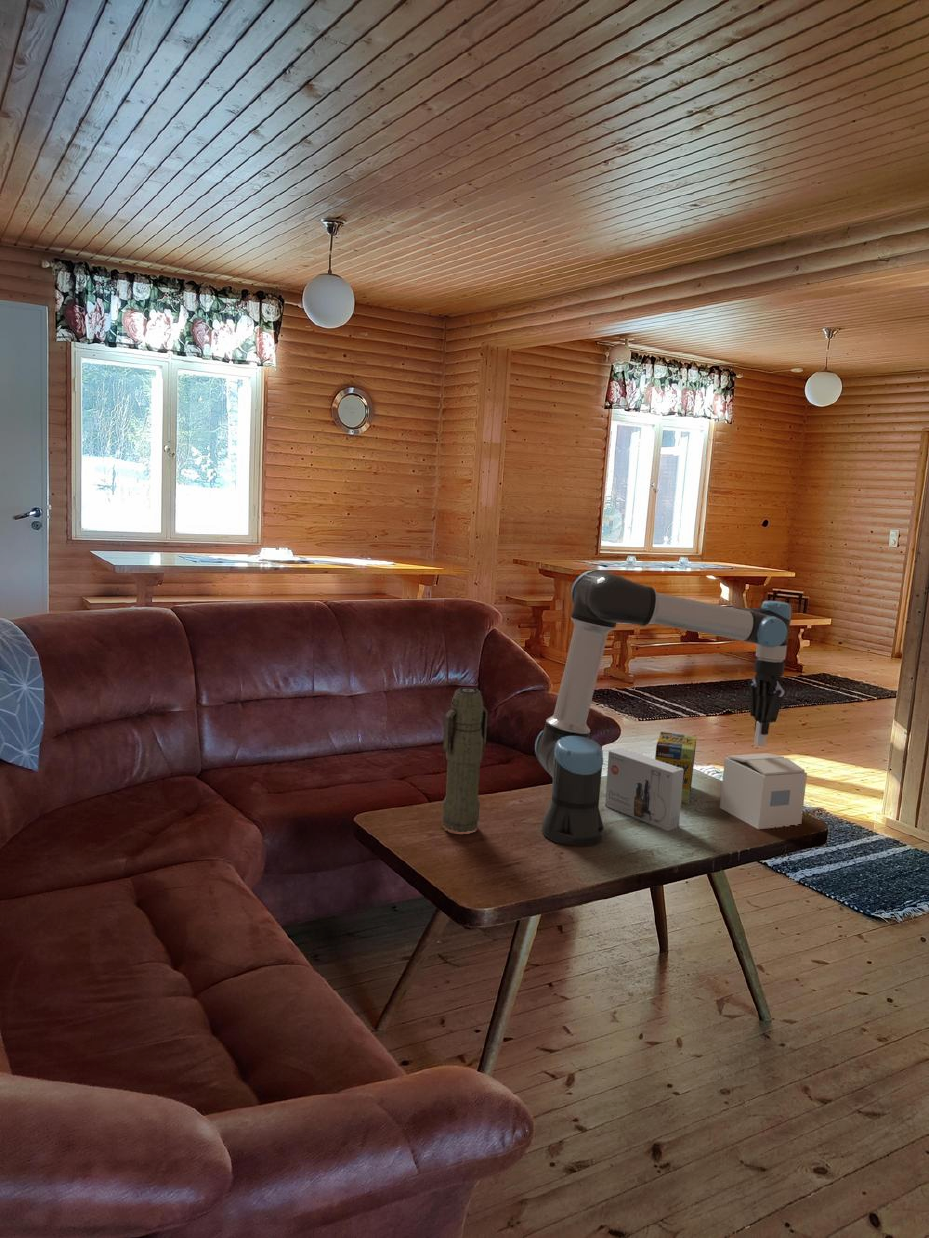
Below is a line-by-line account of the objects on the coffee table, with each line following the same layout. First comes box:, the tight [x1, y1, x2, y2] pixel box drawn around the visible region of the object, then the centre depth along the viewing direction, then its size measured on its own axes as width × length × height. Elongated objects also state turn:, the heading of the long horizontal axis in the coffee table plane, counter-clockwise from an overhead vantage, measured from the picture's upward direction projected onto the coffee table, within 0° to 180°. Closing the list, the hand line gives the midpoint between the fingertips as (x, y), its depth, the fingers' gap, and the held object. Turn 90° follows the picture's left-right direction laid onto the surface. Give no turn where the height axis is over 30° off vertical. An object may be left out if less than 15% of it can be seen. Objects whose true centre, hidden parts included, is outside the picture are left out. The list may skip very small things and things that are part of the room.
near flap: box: [747, 757, 806, 775], centre depth 235 cm, size 13×7×1 cm, turn 111°
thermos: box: [442, 687, 489, 832], centre depth 218 cm, size 9×12×35 cm
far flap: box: [727, 752, 785, 762], centre depth 243 cm, size 13×7×1 cm, turn 111°
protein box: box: [654, 731, 697, 804], centre depth 256 cm, size 10×15×16 cm
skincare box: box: [604, 747, 684, 832], centre depth 235 cm, size 21×6×16 cm, turn 42°
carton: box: [719, 757, 808, 830], centre depth 240 cm, size 14×16×14 cm
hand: (759, 745), depth 241 cm, fingers closed
